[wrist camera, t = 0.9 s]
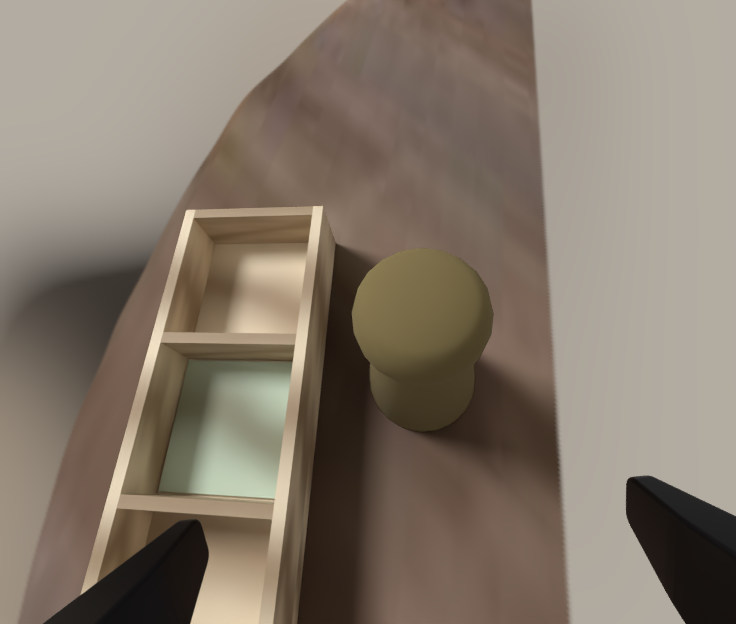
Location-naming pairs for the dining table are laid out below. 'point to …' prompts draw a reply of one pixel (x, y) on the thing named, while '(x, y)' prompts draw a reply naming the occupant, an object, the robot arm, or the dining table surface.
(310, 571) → the dining table surface
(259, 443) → the wooden compartment tray
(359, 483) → the dining table surface
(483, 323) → the cork
